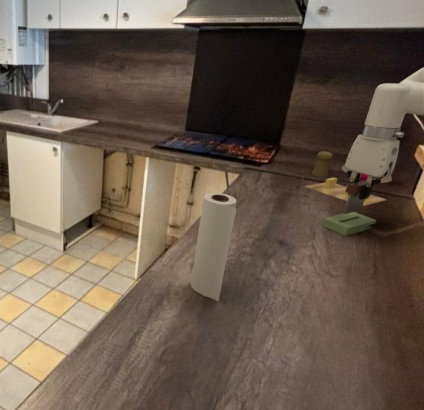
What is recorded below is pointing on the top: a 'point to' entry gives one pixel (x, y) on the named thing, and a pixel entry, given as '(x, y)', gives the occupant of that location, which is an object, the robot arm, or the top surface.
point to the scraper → (354, 197)
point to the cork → (322, 164)
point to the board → (342, 193)
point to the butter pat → (330, 183)
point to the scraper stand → (348, 223)
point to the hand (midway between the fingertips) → (357, 196)
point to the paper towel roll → (213, 244)
